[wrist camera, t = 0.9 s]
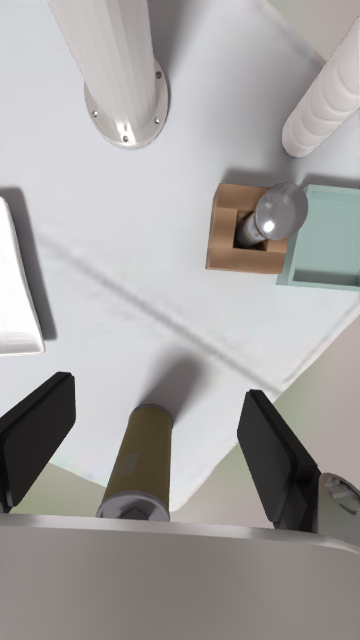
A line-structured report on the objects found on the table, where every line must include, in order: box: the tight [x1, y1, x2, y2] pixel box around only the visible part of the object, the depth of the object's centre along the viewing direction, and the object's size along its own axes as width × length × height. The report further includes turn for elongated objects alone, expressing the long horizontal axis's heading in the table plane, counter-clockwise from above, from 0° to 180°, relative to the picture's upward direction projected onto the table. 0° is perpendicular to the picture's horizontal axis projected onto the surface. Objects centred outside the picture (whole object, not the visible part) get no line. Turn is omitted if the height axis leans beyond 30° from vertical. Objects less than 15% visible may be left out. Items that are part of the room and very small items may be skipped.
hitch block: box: [205, 183, 289, 274], centre depth 30 cm, size 12×12×5 cm
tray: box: [276, 184, 360, 291], centre depth 31 cm, size 16×16×4 cm
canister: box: [96, 404, 173, 522], centre depth 32 cm, size 11×10×20 cm
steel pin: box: [233, 182, 308, 249], centre depth 26 cm, size 6×6×12 cm
